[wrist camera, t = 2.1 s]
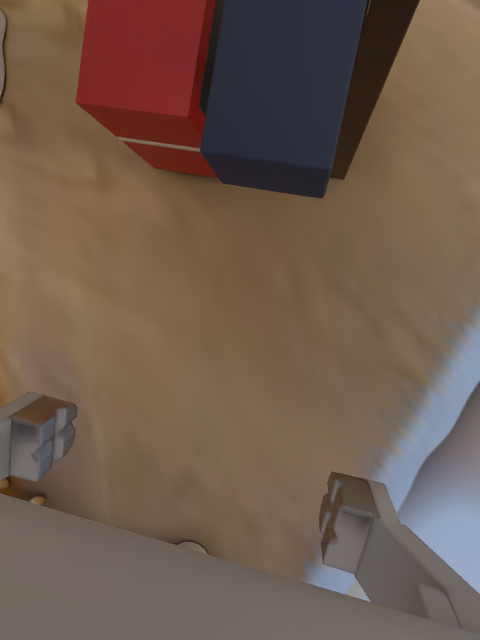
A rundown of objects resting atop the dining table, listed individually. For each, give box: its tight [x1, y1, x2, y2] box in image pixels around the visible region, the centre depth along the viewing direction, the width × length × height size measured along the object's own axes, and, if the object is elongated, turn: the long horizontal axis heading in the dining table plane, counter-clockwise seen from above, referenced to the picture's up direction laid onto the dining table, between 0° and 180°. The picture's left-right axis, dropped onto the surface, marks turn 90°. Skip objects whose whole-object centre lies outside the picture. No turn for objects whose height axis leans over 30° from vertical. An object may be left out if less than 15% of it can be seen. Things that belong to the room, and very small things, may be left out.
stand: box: [330, 0, 420, 179], centre depth 24 cm, size 11×8×26 cm
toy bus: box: [76, 0, 225, 178], centre depth 30 cm, size 15×8×16 cm, turn 169°
